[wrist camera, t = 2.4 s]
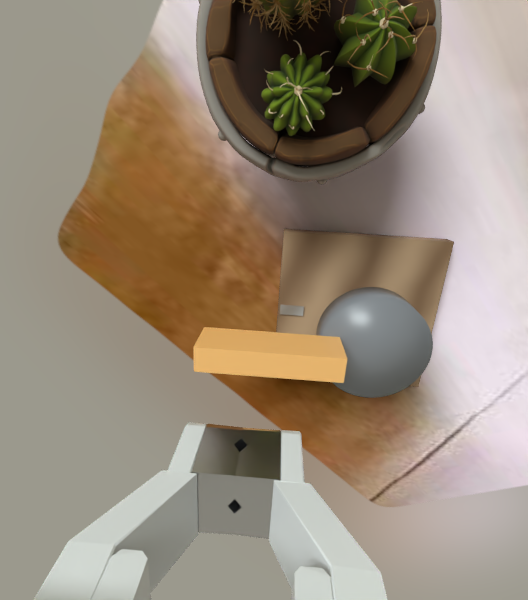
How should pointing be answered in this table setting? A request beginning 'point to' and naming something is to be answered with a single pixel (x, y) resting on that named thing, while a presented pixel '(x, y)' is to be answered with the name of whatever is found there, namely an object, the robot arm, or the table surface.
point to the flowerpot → (316, 78)
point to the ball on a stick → (331, 346)
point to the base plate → (356, 273)
